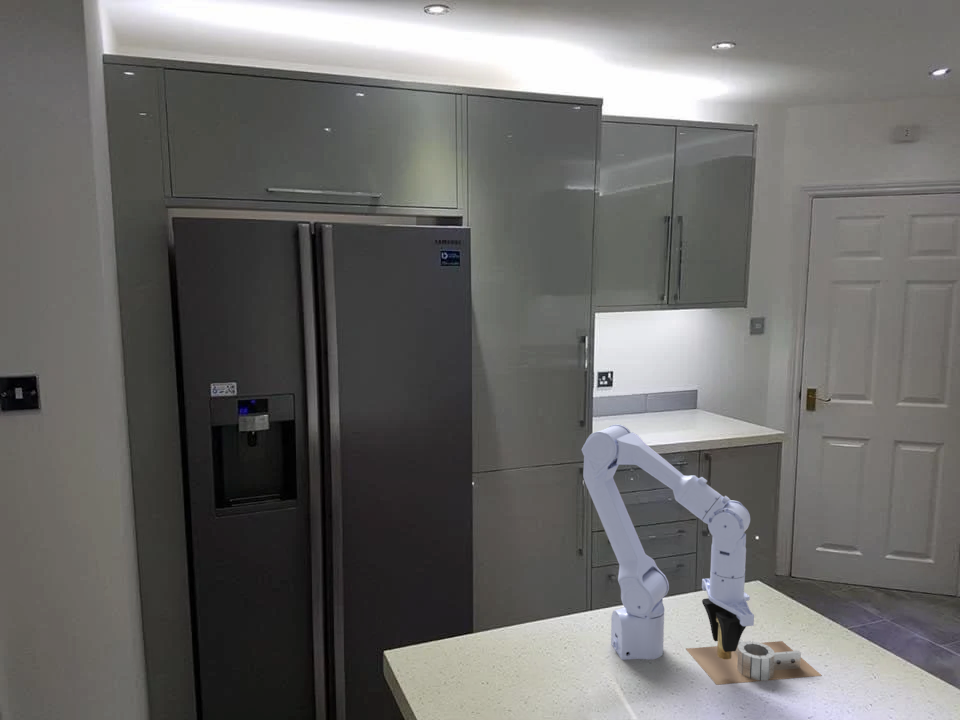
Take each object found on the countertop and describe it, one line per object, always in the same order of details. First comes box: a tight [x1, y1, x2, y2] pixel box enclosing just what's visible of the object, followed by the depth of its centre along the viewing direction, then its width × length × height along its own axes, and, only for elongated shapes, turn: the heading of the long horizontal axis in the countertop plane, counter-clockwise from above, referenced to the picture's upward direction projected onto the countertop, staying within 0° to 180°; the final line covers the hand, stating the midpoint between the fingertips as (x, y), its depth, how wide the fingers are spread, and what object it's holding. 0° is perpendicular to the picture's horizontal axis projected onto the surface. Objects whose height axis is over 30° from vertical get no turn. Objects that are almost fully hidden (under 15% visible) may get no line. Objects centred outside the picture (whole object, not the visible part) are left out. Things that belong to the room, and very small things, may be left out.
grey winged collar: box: [734, 638, 802, 682], centre depth 122 cm, size 12×12×4 cm
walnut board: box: [685, 640, 822, 686], centre depth 122 cm, size 20×12×1 cm, turn 98°
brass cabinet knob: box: [716, 616, 732, 659], centre depth 118 cm, size 3×3×7 cm
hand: (724, 645), depth 118 cm, fingers closed on brass cabinet knob, 3 cm apart
